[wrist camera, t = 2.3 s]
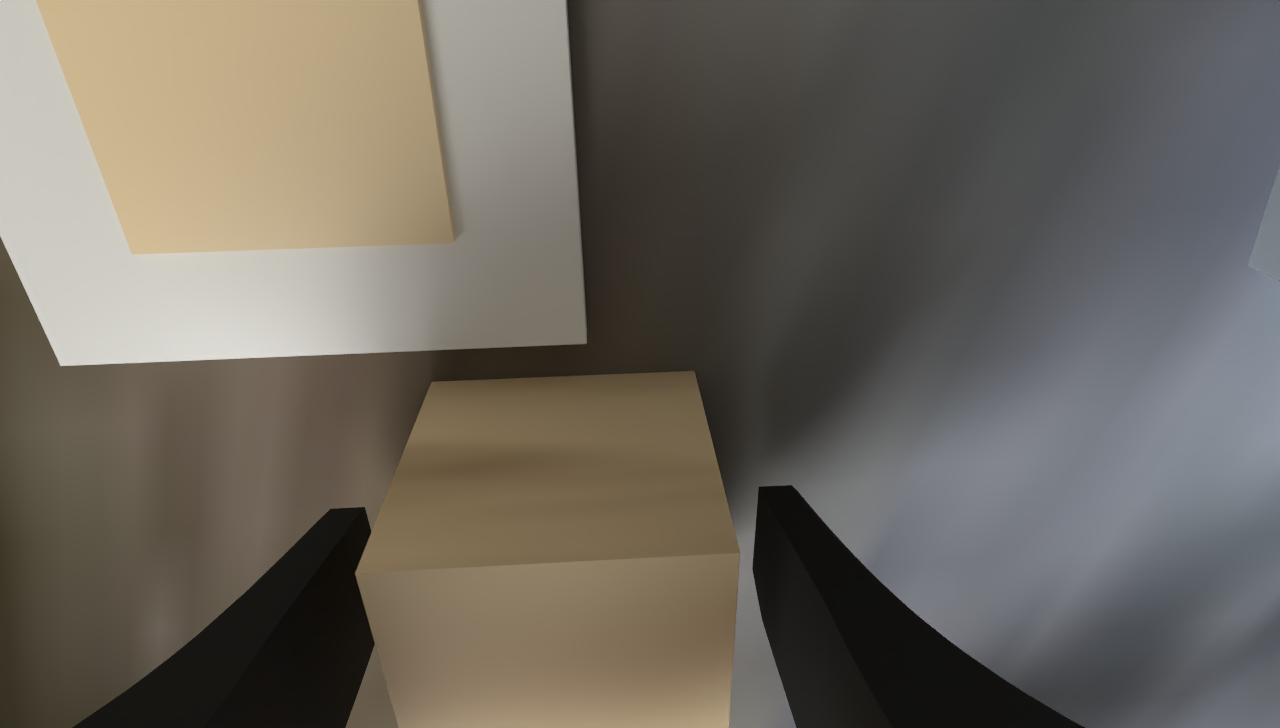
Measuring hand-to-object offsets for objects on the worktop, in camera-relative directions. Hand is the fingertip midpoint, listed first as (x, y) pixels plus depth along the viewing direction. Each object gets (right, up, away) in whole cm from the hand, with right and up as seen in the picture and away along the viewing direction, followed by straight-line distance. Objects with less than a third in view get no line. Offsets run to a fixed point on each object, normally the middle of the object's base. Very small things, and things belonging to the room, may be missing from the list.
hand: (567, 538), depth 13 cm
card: (-4, +8, -2) cm, 9 cm away
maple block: (0, +1, +2) cm, 2 cm away
